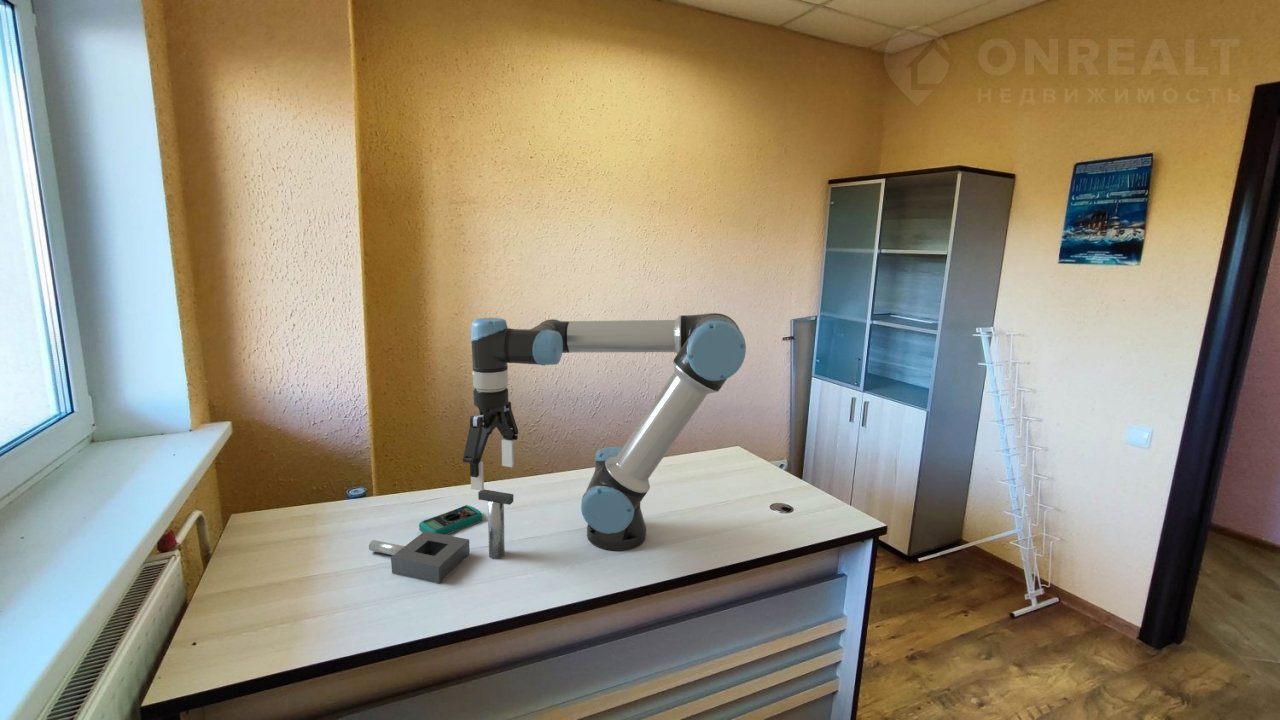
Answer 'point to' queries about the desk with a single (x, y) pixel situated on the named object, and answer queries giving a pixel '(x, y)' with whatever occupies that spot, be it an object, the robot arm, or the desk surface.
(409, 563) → the block
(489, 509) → the t key
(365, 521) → the desk surface
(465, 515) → the digital multimeter
